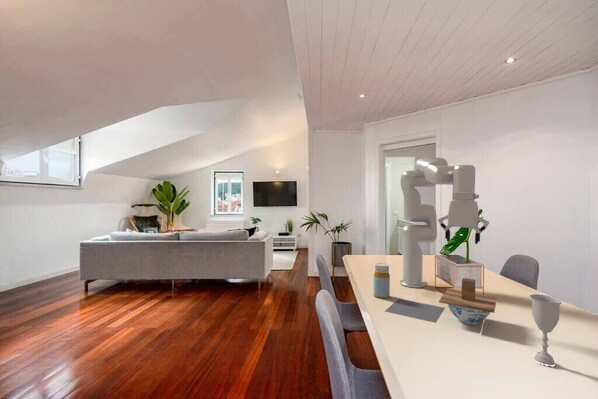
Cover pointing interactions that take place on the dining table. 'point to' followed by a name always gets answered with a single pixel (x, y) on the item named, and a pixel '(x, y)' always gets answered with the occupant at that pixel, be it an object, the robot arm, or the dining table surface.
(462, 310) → the chinaware
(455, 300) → the cover
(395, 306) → the mat
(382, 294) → the bottle
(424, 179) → the robot arm
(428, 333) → the dining table surface
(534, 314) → the chalice
